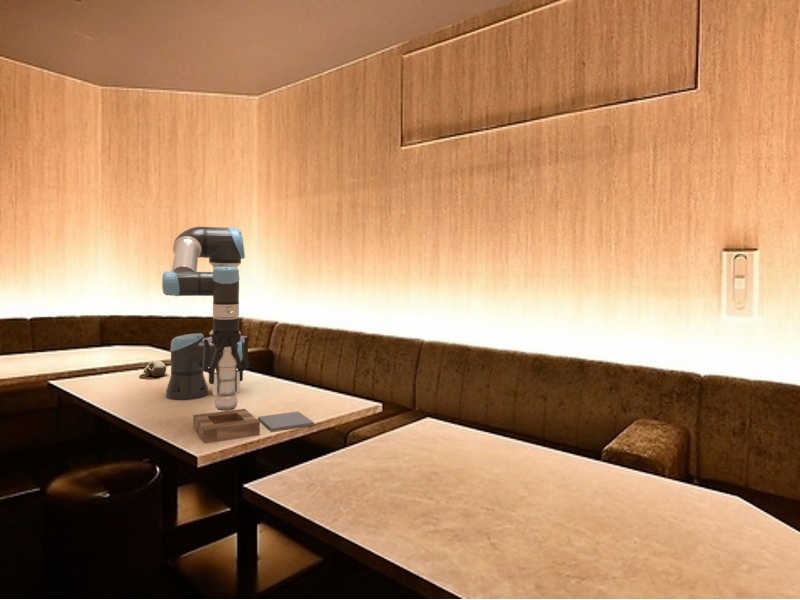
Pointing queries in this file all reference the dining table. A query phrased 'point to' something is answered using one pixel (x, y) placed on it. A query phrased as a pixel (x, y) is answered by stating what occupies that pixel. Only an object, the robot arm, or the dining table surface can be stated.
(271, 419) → the charcoal mat
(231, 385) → the plastic bottle
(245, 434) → the walnut block
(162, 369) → the skull
